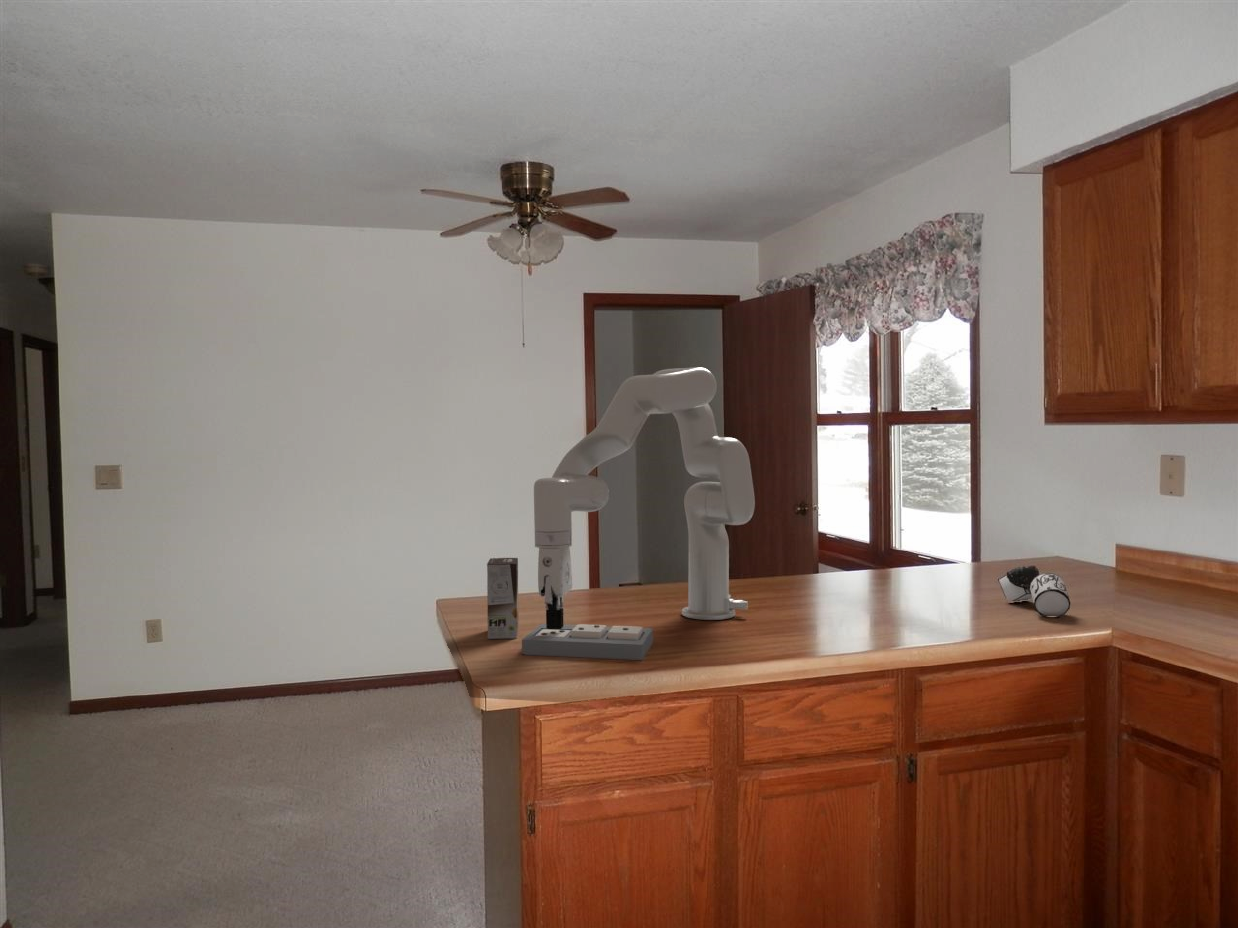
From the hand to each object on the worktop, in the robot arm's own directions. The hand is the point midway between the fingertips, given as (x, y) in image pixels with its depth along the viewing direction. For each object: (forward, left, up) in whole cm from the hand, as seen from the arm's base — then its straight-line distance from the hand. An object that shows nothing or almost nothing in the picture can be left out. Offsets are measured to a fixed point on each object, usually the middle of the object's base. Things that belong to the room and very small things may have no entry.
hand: (555, 627), depth 184 cm
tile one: (-15, 0, -2) cm, 15 cm away
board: (-7, 0, -4) cm, 8 cm away
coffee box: (+14, -9, -4) cm, 17 cm away
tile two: (-7, 0, -2) cm, 7 cm away
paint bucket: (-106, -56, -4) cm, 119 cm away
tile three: (0, 0, -3) cm, 3 cm away
